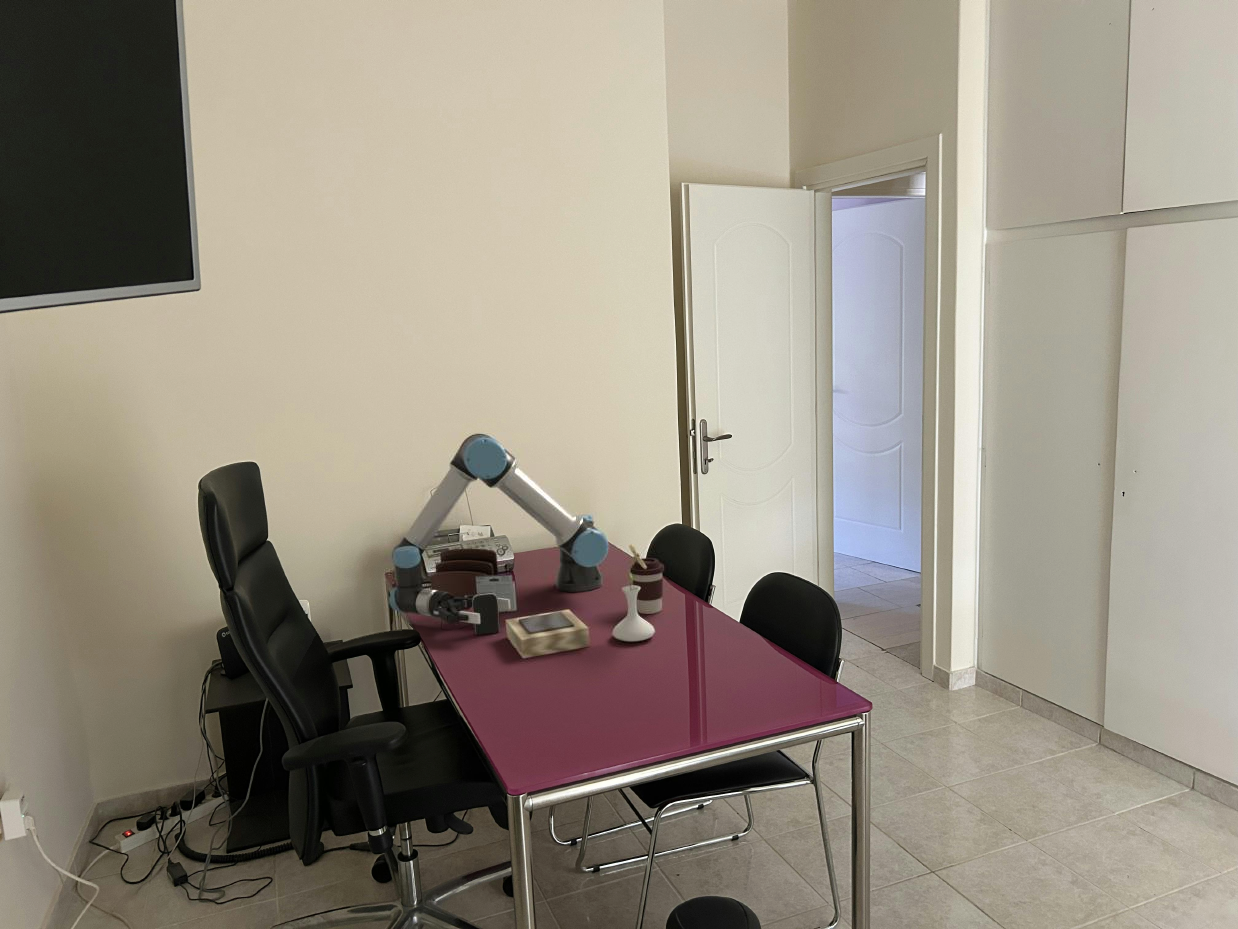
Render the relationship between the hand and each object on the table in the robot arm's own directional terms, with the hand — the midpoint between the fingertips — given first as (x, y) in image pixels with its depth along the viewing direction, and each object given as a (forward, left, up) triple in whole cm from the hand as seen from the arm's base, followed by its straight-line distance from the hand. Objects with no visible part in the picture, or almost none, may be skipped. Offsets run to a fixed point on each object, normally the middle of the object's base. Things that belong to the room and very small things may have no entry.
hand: (494, 611), depth 252 cm
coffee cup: (-45, +2, -7) cm, 45 cm away
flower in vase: (-33, +21, -7) cm, 40 cm away
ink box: (-5, -21, -7) cm, 22 cm away
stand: (-11, +13, -7) cm, 18 cm away
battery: (+2, -3, -7) cm, 7 cm away
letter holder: (0, -45, -7) cm, 45 cm away
